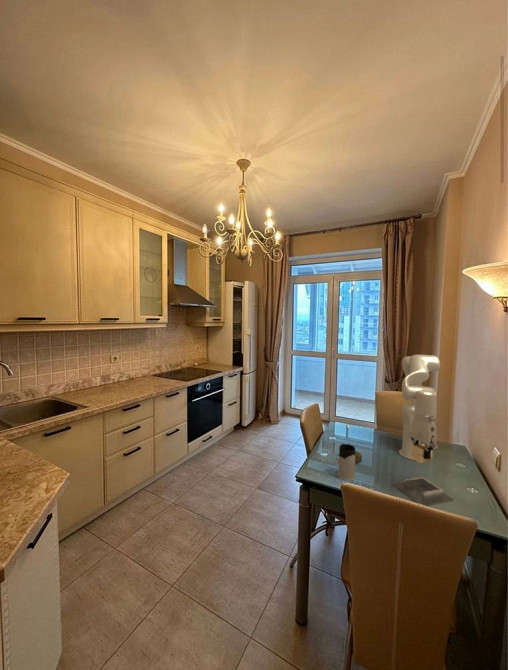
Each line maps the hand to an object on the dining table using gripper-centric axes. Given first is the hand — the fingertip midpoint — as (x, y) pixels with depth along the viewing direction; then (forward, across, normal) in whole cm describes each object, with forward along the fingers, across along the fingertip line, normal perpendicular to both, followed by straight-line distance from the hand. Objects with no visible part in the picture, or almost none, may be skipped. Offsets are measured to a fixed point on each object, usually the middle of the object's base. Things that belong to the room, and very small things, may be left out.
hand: (421, 455), depth 125 cm
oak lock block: (+2, 0, 0) cm, 2 cm away
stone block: (+18, +35, +13) cm, 41 cm away
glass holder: (+18, +22, +27) cm, 39 cm away
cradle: (+17, -1, 0) cm, 17 cm away
